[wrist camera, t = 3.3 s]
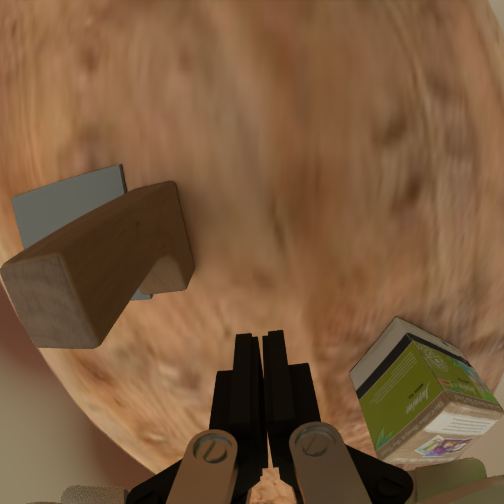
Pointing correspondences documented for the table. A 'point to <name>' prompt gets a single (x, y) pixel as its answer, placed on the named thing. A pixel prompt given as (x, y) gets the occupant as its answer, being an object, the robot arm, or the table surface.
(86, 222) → the wooden block
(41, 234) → the mat
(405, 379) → the tea box
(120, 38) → the table surface
